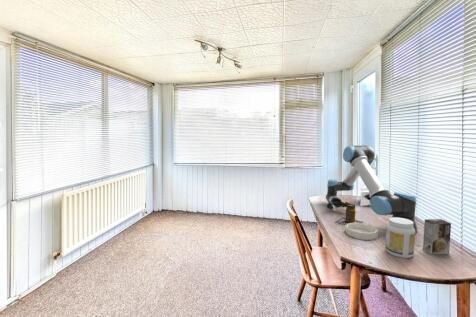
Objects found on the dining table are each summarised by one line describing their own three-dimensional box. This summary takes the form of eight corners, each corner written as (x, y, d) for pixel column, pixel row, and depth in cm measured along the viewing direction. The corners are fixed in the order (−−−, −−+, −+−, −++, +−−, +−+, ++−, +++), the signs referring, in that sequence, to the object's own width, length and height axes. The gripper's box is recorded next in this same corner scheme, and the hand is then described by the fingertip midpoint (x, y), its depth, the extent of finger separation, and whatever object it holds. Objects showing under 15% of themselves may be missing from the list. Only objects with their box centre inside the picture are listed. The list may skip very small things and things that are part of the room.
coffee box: (438, 248, 132) (441, 218, 131) (449, 254, 126) (452, 223, 124) (421, 248, 132) (424, 218, 130) (431, 254, 126) (434, 223, 124)
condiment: (357, 222, 171) (358, 205, 170) (350, 225, 166) (351, 207, 165) (347, 219, 177) (348, 203, 176) (340, 222, 172) (341, 205, 171)
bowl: (381, 234, 151) (381, 227, 151) (372, 242, 139) (372, 235, 139) (351, 226, 163) (352, 220, 163) (341, 234, 151) (341, 227, 150)
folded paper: (362, 186, 207) (385, 189, 202) (357, 181, 230) (378, 184, 225) (359, 206, 209) (382, 210, 204) (355, 199, 232) (375, 202, 227)
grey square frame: (363, 222, 172) (363, 221, 172) (356, 227, 162) (356, 227, 162) (342, 217, 181) (342, 217, 181) (334, 222, 171) (334, 221, 171)
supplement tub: (403, 247, 133) (406, 216, 131) (419, 259, 121) (422, 225, 119) (380, 247, 133) (382, 216, 132) (393, 258, 121) (395, 224, 120)
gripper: (351, 206, 200) (362, 215, 179) (319, 205, 202) (326, 214, 181) (351, 197, 199) (363, 204, 178) (319, 196, 201) (327, 203, 180)
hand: (344, 209), depth 179 cm, fingers open, 13 cm apart
